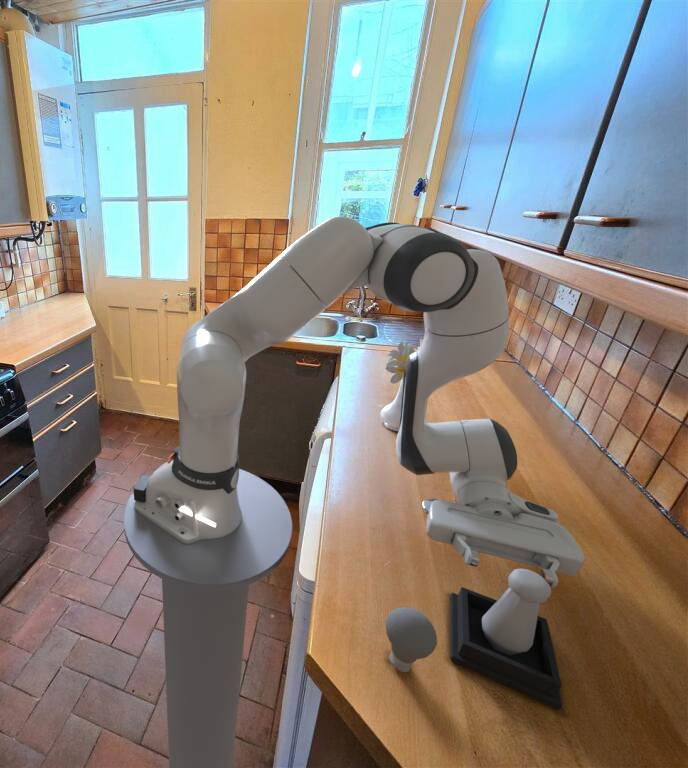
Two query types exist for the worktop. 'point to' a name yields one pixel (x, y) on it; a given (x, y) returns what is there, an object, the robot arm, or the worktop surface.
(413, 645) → the light bulb
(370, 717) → the worktop surface
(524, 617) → the salt shaker
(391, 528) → the worktop surface
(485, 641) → the pad
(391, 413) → the flower vase
